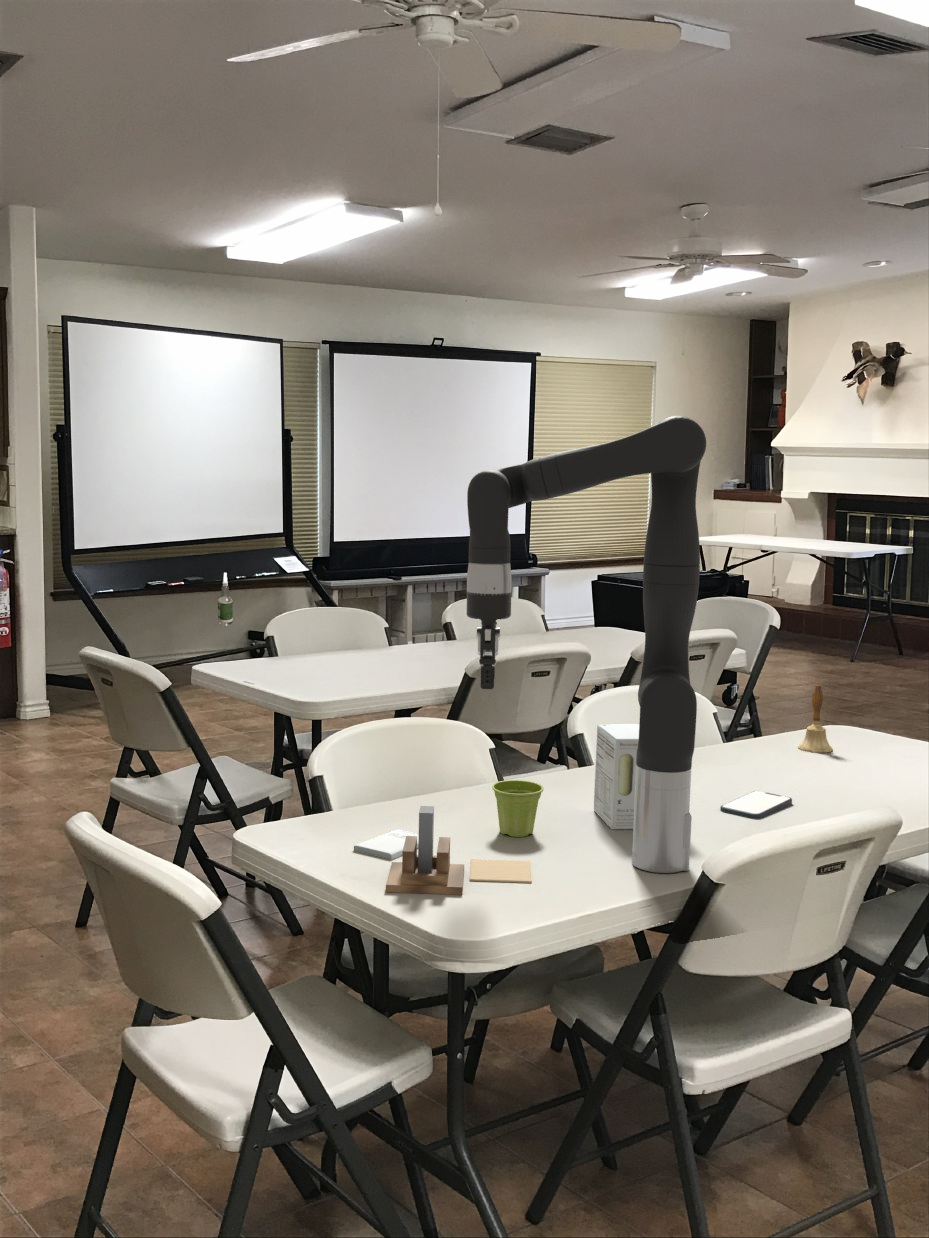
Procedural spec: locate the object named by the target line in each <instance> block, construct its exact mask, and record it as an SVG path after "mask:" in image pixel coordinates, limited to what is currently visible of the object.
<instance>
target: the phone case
mask: <svg viewBox="0 0 929 1238" xmlns="http://www.w3.org/2000/svg"><path fill="white" fill-rule="evenodd" d="M792 804H793V798H792V797H790V796H784V795H779V794H775V793H770V792H765V791H760V790H754V791H751V792H749V793H746V794H745V795H742V796H740V797H738V798H736V799H733V800H730V801H729V802H727V803H725V804H722V805H720V809H719V811H720V812H722V813H727V814H731V815H734V816H740V817H743V818H749V819H754V820H761V819H763V818H765V817H767V816H769V815H771V814H774V813H776V812H778V811H782V810H783V809H786V808H788V807H790V806H792Z"/></svg>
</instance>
